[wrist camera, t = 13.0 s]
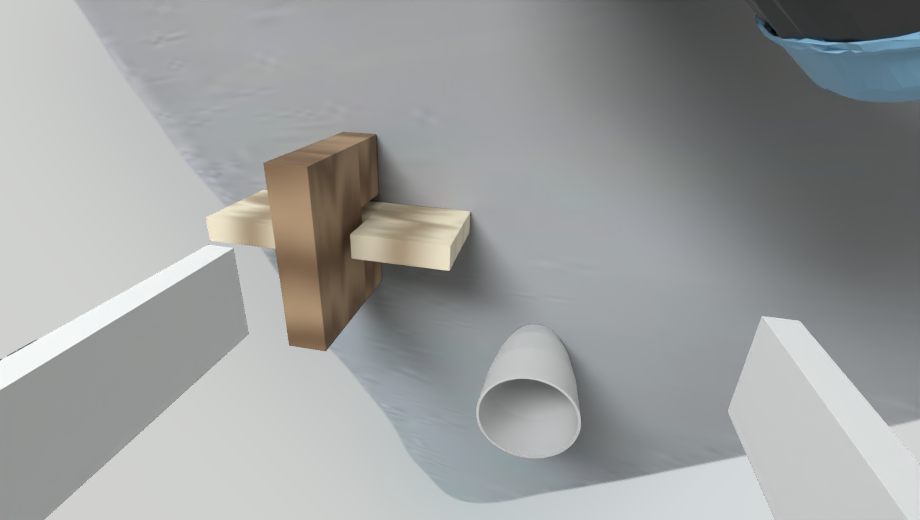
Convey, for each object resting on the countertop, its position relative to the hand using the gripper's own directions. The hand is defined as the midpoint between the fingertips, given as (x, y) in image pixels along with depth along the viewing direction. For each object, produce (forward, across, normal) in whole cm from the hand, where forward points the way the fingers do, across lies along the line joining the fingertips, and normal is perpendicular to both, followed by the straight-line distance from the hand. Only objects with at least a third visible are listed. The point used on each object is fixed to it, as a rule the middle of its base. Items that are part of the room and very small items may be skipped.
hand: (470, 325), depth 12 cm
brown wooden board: (+29, -15, -8) cm, 33 cm away
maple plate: (+29, -15, -8) cm, 33 cm away
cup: (+29, +2, -20) cm, 35 cm away
